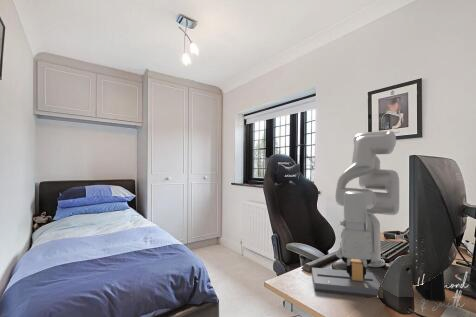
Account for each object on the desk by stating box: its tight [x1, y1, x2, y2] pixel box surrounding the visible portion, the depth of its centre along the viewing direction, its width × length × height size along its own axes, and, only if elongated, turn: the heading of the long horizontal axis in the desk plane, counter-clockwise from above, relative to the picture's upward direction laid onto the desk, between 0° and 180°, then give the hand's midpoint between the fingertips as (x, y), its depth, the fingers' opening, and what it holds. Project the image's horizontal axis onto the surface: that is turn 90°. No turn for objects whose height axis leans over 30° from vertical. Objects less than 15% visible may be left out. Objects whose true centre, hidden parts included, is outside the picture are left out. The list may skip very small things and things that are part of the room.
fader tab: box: [351, 259, 363, 281], centre depth 85 cm, size 4×4×8 cm
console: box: [311, 267, 381, 298], centre depth 86 cm, size 12×22×3 cm, turn 77°
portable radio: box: [414, 270, 446, 302], centre depth 79 cm, size 8×6×25 cm
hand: (356, 275), depth 85 cm, fingers closed on fader tab, 3 cm apart
